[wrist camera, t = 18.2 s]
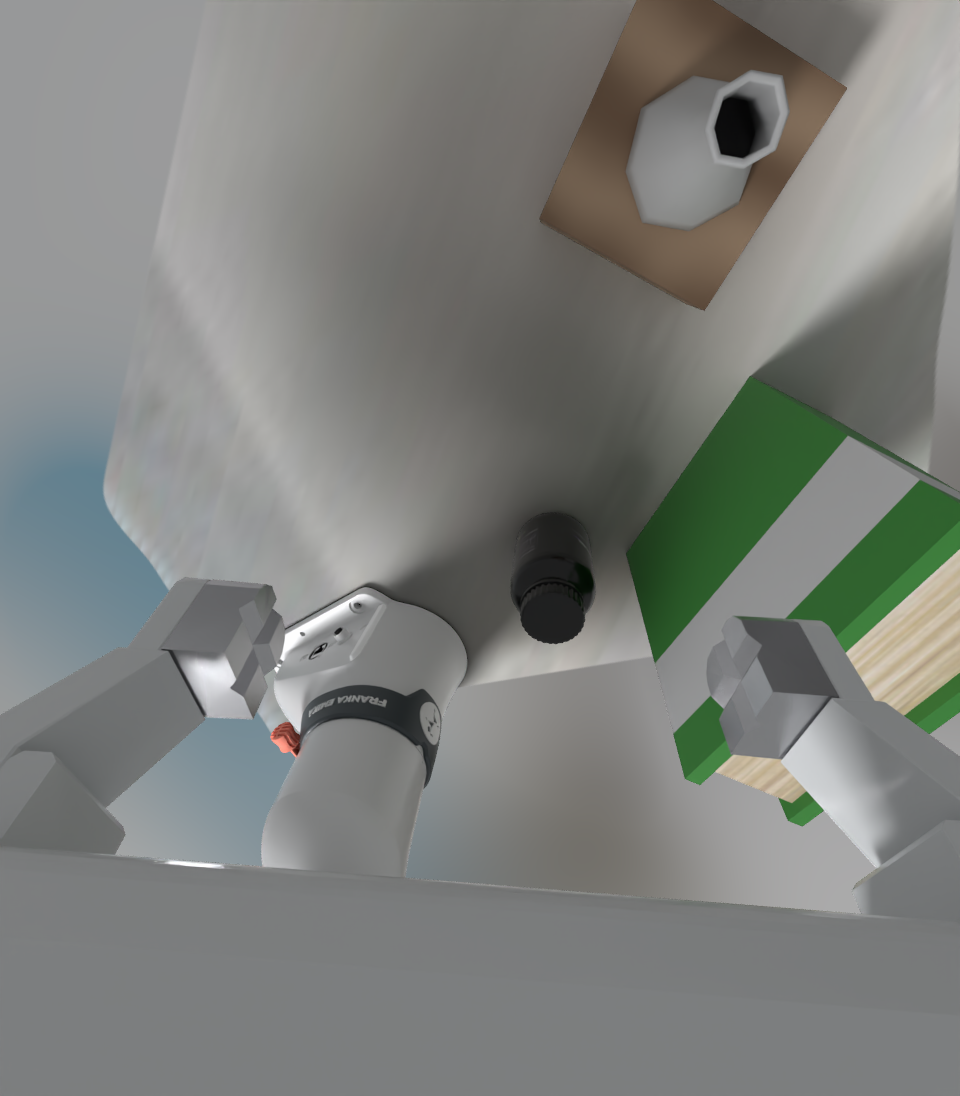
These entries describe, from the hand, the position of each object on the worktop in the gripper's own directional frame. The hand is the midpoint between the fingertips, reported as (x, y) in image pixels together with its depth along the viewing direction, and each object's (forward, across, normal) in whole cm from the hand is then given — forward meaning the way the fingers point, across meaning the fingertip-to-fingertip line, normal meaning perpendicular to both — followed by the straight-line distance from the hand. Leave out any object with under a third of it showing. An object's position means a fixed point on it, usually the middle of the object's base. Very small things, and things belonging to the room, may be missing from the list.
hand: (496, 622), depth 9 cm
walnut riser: (+36, -10, -5) cm, 38 cm away
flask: (+32, -10, -6) cm, 34 cm away
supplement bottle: (+32, -6, +23) cm, 40 cm away
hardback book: (+32, -19, +17) cm, 41 cm away
